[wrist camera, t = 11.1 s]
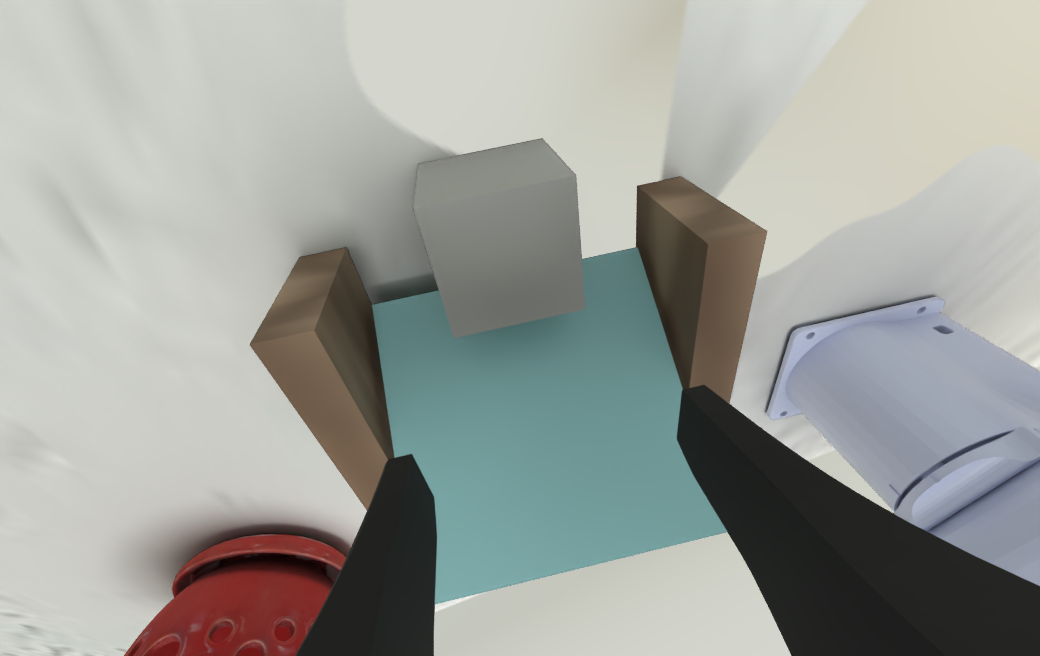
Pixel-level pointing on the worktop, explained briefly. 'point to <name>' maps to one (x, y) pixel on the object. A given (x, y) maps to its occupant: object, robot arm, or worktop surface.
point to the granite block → (501, 235)
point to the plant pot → (244, 599)
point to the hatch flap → (543, 432)
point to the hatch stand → (354, 348)
